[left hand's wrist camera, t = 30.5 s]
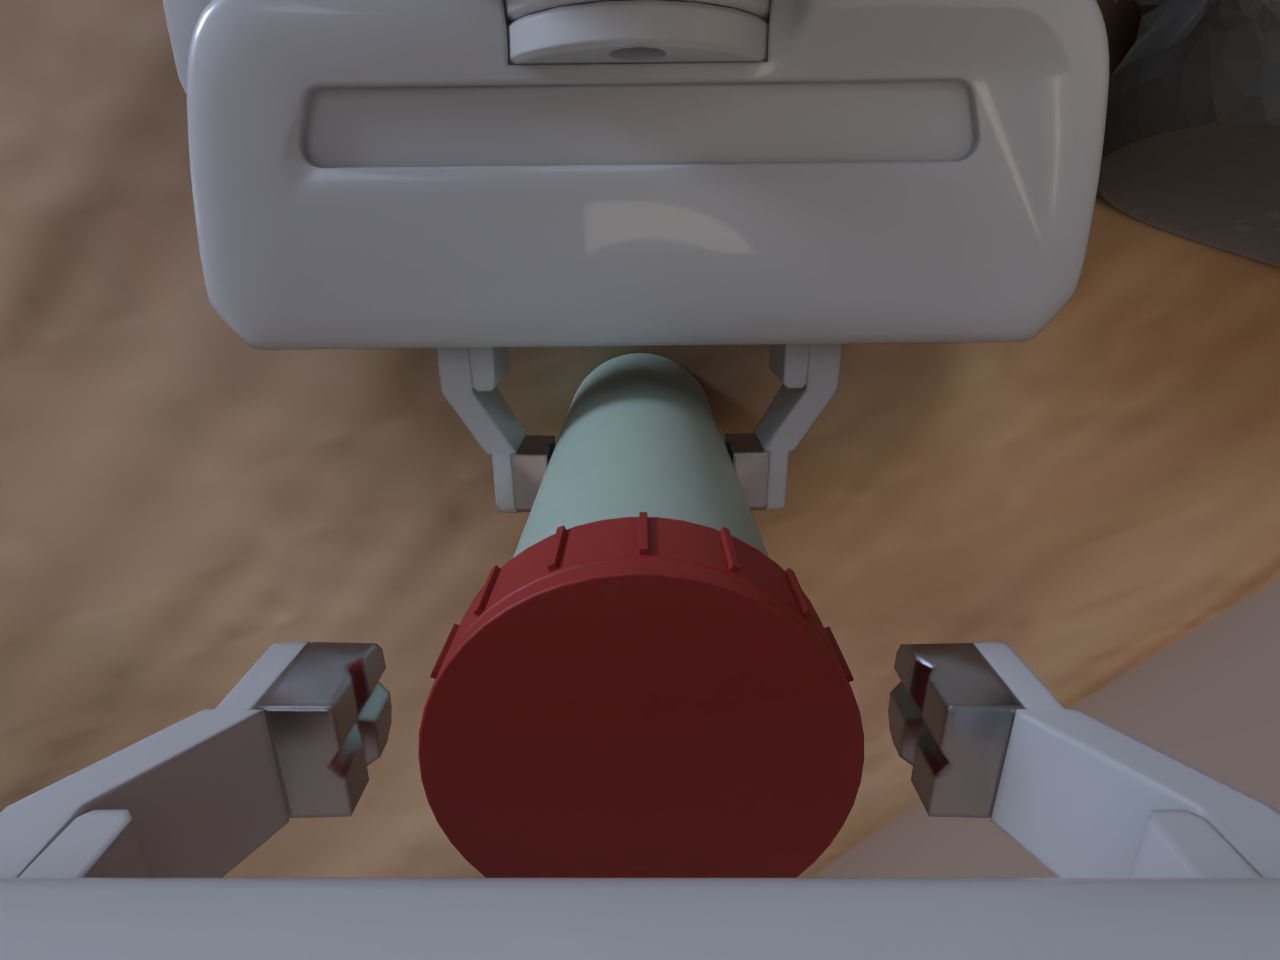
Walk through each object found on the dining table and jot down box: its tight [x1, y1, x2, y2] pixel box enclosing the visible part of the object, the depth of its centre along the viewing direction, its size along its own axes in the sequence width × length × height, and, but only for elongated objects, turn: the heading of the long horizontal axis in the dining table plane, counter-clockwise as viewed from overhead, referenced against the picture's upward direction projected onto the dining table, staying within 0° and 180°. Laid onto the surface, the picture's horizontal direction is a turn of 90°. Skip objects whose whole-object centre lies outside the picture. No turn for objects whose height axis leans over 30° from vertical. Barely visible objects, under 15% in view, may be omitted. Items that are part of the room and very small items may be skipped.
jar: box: [513, 353, 769, 558], centre depth 17 cm, size 5×5×15 cm
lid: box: [418, 512, 864, 878], centre depth 10 cm, size 6×6×2 cm
